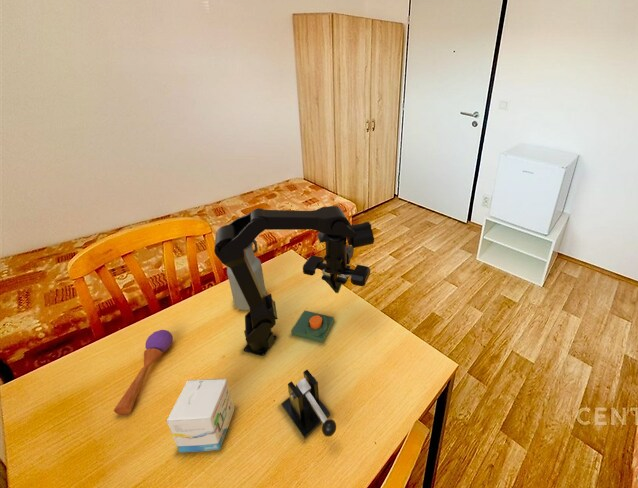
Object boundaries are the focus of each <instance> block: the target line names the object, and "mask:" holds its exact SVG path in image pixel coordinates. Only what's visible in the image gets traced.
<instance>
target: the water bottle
mask: <svg viewBox="0 0 638 488" xmlns="http://www.w3.org/2000/svg"><path fill="white" fill-rule="evenodd" d="M253 246H254V248H253ZM258 249H259V248H258V243H257V240H256V239H254V241H253V242H252V243H251V244H250V245H249V246H248V247H247V248H245V252H246V257H247V259H248V261H249V263H250V266H251V268H252V270H253V273H254V275H255V277H256V279H257V282H258V284H259V286H260V288H261V291H262V293H263V294H264V295H266V296H267V290H266V283H265V277H264V271H263V266H262V262H261V259H260V258H258V257H256V256H255V254H256V253H257V252H258ZM226 275H227V278H228V283H229V287H230V291H231V295H232V299H233V305H234V306H235V308H236V309H238V310H240V311H250V308H249V306H248V304H247V301H246V299H245V297H244V295H243V293H242V291H241V289H240V287H239V285H238V283H237V281H236V279H235V277H234V275H233V273H232V271H231V269H230V268H229V267H227V268H226Z"/></svg>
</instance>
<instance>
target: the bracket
mask: <svg viewBox="0 0 638 488" xmlns="http://www.w3.org/2000/svg"><path fill="white" fill-rule="evenodd" d="M303 378H305V379H306V380H307V382H308V383H309V385H310V386H311V392H310V393H311V394H312V396H313V398H314V399H315V401H316V402H317V404H318V405H319V407H320V408H321V410H322V411H323V413H324V414H325V416H326V417H327V419H329V418H330V417H331V412H330V410H328V409H327V407H326V406H325V405H324V403H323V402H322V401H321V400H320V394H319V393H320V392H319V391H320V390H319V382H318V380H317V378H316V376H314V375H313V374H312V373H311V372H310V371H309V369H305V370H304V371H303ZM287 389H288V396H289V397H288V398H287V399H285V400H284V401H283V402H281V408H282V409H283V411H284V412H285V414H286V416H288V418H289V419H290V421H291V422H292V424H293V425H294V427H295V428H296V429H297V431H298V432H299V434H300V436H301V437H302V438H303V440H306V439H307V438H308V437H309V436H310V435H311V434H312V433H313V432H314V431H316V429H318V428H319V427H320V426H321V425H323V424H322V422H321V421H320V419H319V418H318V416H317V415H316V413H315V412H314V410H313V408H312V407H311V405H310V404H309V402H308V401H307V399H306V398H305V397H304V398H303V399H302V394H301V393H300V392H299V390H298V389H297V388H296V384H294V382H293V381H292V380H291V381H290V382H288V383H287Z"/></svg>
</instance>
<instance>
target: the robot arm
mask: <svg viewBox="0 0 638 488" xmlns="http://www.w3.org/2000/svg"><path fill="white" fill-rule="evenodd" d="M285 230H286V231H288V230H289V231H292V230H293V231H295V230H297V231H299V230H301V231H303V230H305V231H306V230H307V231H309V230H310V231H316V232H318V233H317V234H316V236H317V239H318V241H319V243H320V244H321V243H325V244H324V245H325V255H324V256H323V257H322V256H318V255H313V254H312V255H310V256H309V257H308V258H307V260H306V261H305V262H304V264H303V265H302V273H303V275H307V276H314V275H315V274H316V270H321V273H322V275H321V280H323V281H324V282H326V284H328V286H329V287H330V288H331V289H332V291H334V293H335V294H339V293H340V291H341V287H343V285H345V284H347V283H348V280H349V278H350V283H351V284H352V285H353V286H358V287H364V286H366V284H367V281H368V279H369V277H370V275H371V268H370V267H369V266H366V265H362V264H356V266H355V268H354V269H353V268H352V266H351V265H350V264H351V259H353V257H354V250H355V249H357V248H361V247H366V246H371V245H373V244H374V243H375V236H374V232H373V229H372V224H371V222H370V221H365V222H364V221H363V222H362V223H357V224H351V222H350V220H348V218H347V216H346V215H345V212H344V211H343V209H342V208H341V207H339V206H338V205H329V206H321V207H319V208H317V209H314V210H294V209H293V210H290V209H289V210H288V209H264V208H261V207H258V208H254V209H253V210H252V211H251V212H249V213H247V214H245V215H242V216H240V217H237V218H236V219H235V220H233V221H231V222H230V223H229V224H226V225H223V226H220V227H219V228H218V229H217V230H216V232H215V239H214V254H215V256H216V257H217V259H218V260H219V261H220V262H221V263H222V265H224V266H226V267H227V268H228V267H229V268H230V269H231V271H232V273H233V275H234V277H235V279H236V281H237V283H238V285H239V287H240V289H241V291H242V293H243V295H244V297H245V299H246V301H247V304H248V306H249V308H250V310H248V312H247V313H246V314H245V315H244V331H243V332H244V336H245V342H246V345H245V347H244V348H243V352H244V353H248V354H252V355H256V356H260V357H265V356H266V354H267V353H268V351H269V350H270V349H271V348H272V346H273V345H274V343H275V341H276V340H277V336H276V335H274V332H273V331H272V329H273V328H274V327H275V326H276V324H277V322H276V321H277V320H278V312H277V306H276V301H275V300H274V299H273V296H272V293H268V294H266V295H264V294H263V293H262V291H261V288H260V286H259V284H258V282H257V279H256V277H255V275H254V273H253V270H252V268H251V266H250V263H249V261H248V259H247V257H246V252H245V248H247V247H248V246H249V245H250V244H251V243H252V242H253V241H254V240H256V238H257V237H258V236H259V235H260V234H262V233H263V232H264V231H285ZM347 244H348V245H347Z"/></svg>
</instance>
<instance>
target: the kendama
mask: <svg viewBox="0 0 638 488" xmlns="http://www.w3.org/2000/svg"><path fill="white" fill-rule="evenodd" d="M173 341H174V336H173V334H172V333H171V332H170V331H169V330H167V329H159V330H157V331H154V332H152V333H151V334H150V335H149V336H148V337H147V339H146V340H145V349H144V351H143V366H142V368H141V370H140V371H139V372H138V374H137V375H136V376H135V379H133V381H132V382H131V384H130V385H129V387H128V388H127V390H126V391H125V393H124V394H123V395H122V397H121V398H120V400H119V401H118V403H117V405H116V406H115V407H114V409H113V412H114V413H115V414H117V415H128V414H131V412H132V411H133V408H134V405H135V402H136V400H137V398H138V396H139V393H140V390H141V389H142V385H143V382H144V380H145V378H146V375H147V372H148V370H149V367H150V366H152V365H153V364H154V363H155V362H156V361H157V360H159V359H160V358H161V357H162V356H163V354H164V353H166V351H167V350H169V349H170V348H171V347H172V344H173Z"/></svg>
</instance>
